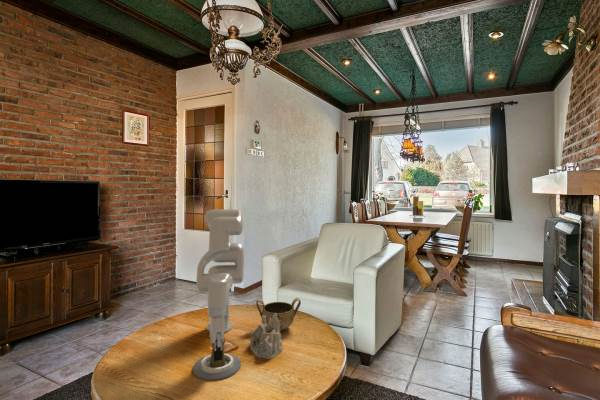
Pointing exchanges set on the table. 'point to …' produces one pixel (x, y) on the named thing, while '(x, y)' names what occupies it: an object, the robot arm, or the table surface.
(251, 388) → the table surface
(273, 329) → the ceramic cottage
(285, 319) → the ceramic bowl
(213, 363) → the cork
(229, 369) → the round tray
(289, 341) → the table surface
